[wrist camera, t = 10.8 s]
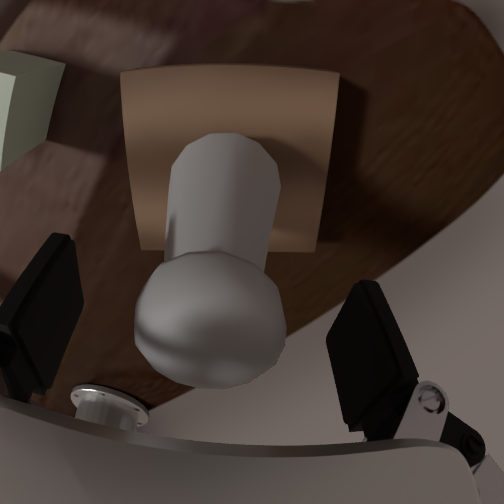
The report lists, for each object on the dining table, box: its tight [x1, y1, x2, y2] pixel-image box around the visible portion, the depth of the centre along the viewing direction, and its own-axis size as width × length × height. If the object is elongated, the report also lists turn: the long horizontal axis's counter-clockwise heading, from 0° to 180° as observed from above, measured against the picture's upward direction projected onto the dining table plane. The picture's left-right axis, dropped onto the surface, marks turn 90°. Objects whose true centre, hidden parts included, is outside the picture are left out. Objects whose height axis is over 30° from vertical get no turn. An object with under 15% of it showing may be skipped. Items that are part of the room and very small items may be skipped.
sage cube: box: [0, 50, 66, 172], centre depth 14 cm, size 6×6×6 cm
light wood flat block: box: [120, 63, 340, 252], centre depth 20 cm, size 12×12×3 cm
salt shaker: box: [134, 132, 287, 389], centre depth 13 cm, size 6×6×13 cm
